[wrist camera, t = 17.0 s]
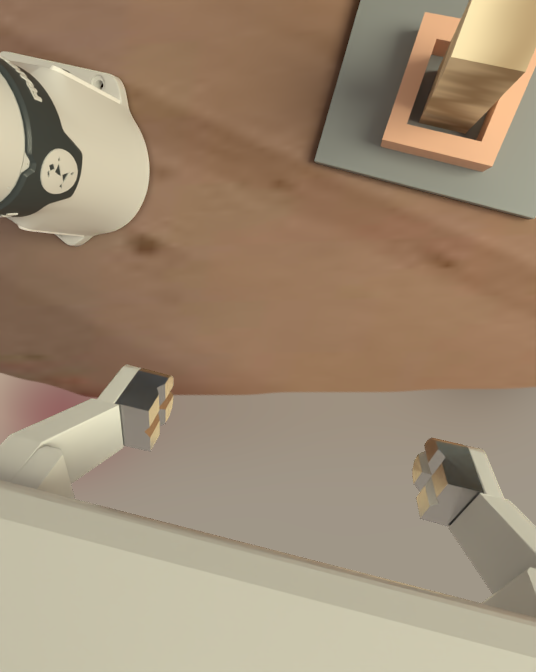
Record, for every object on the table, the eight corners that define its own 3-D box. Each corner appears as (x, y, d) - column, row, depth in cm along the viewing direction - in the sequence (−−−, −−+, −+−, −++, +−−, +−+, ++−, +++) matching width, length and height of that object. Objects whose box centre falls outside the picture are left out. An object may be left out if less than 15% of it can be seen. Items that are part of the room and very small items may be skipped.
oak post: (418, 122, 31) (451, 56, 20) (437, 70, 30) (483, -31, 19) (465, 133, 31) (525, 71, 20) (486, 81, 30) (563, -18, 18)
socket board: (315, 163, 35) (310, 155, 32) (365, -11, 31) (366, -41, 28) (529, 219, 32) (548, 216, 29) (618, 35, 28) (653, 7, 24)
